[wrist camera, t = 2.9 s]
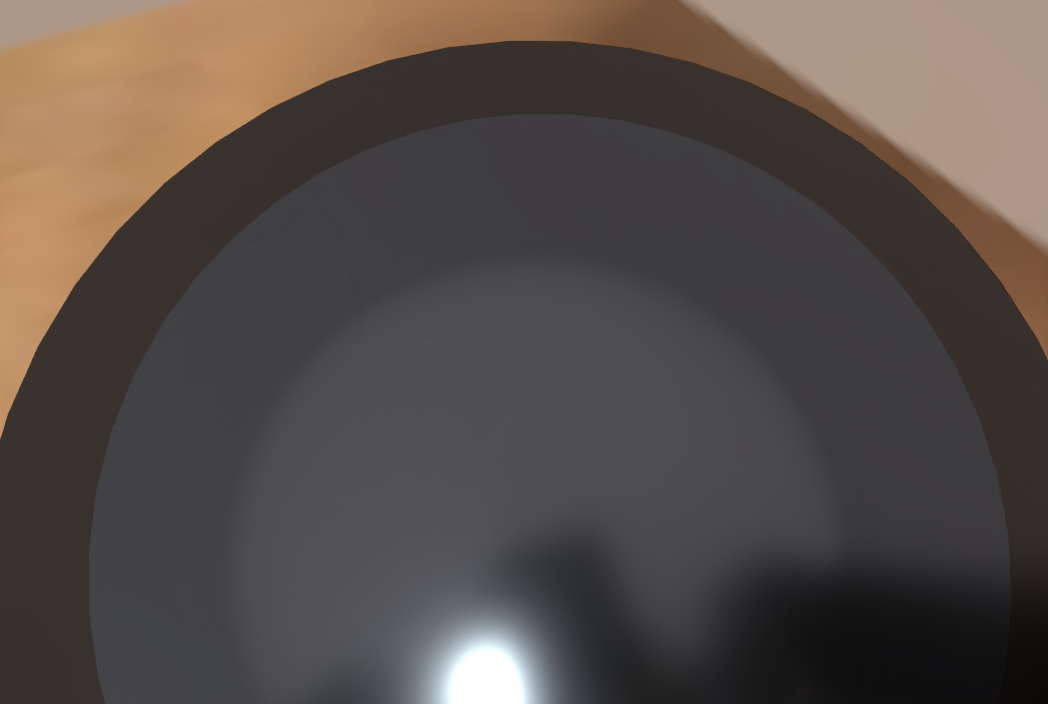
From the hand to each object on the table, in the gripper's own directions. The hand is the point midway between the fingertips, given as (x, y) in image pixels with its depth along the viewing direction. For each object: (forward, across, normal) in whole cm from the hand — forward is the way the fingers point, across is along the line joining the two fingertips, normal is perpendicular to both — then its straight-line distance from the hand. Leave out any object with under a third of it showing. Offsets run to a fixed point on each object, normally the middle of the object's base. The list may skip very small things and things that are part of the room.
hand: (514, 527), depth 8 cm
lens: (+5, 0, +6) cm, 8 cm away
